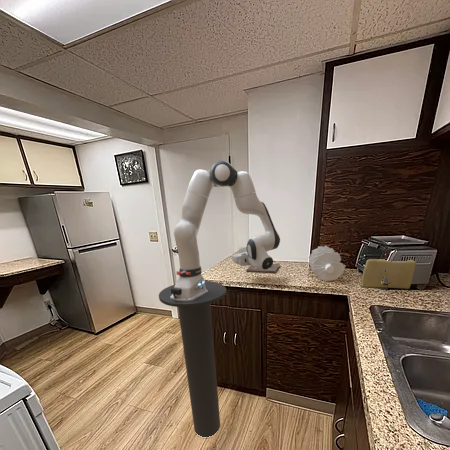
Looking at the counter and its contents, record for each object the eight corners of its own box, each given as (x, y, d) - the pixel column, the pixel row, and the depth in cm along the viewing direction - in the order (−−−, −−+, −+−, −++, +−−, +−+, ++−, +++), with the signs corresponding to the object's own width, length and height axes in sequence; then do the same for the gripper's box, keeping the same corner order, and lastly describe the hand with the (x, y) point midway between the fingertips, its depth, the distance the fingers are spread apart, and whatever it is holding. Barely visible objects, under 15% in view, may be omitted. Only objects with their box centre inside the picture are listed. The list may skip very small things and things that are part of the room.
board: (274, 273, 167) (274, 271, 167) (246, 271, 174) (246, 269, 173) (279, 266, 184) (279, 264, 184) (253, 265, 191) (253, 263, 191)
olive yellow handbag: (364, 289, 130) (369, 261, 125) (358, 283, 139) (362, 257, 134) (410, 289, 127) (417, 261, 121) (401, 283, 136) (407, 256, 130)
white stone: (246, 262, 154) (244, 248, 150) (239, 262, 157) (237, 248, 153) (249, 259, 158) (248, 245, 154) (242, 259, 161) (240, 246, 157)
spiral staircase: (319, 289, 146) (312, 274, 168) (350, 276, 140) (339, 263, 162) (308, 262, 140) (302, 251, 163) (339, 248, 135) (329, 239, 157)
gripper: (268, 248, 146) (256, 244, 158) (237, 256, 140) (227, 251, 152) (268, 258, 149) (257, 254, 161) (238, 266, 143) (229, 261, 154)
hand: (242, 253), depth 156 cm, fingers closed on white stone, 5 cm apart
